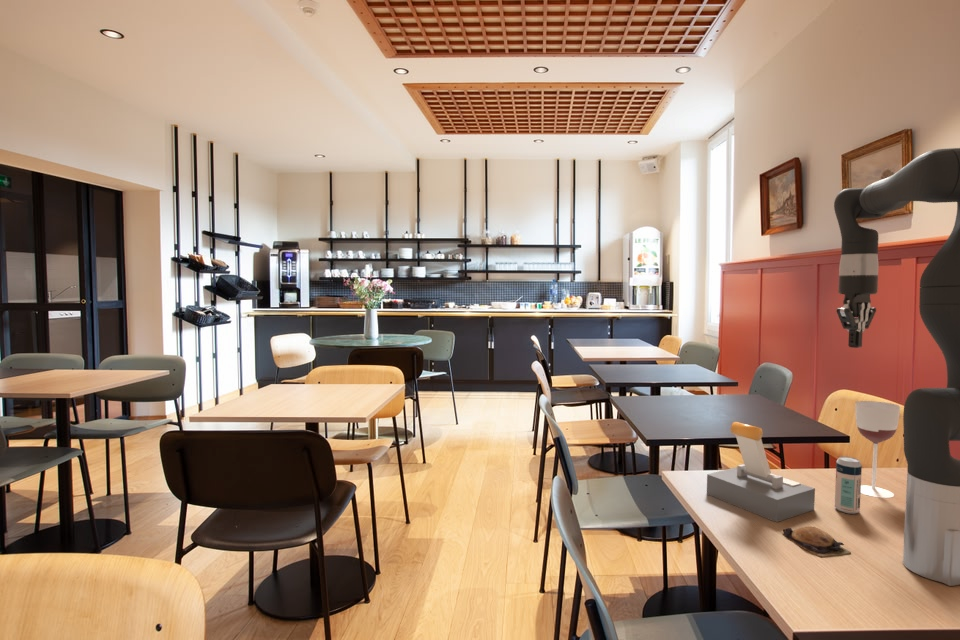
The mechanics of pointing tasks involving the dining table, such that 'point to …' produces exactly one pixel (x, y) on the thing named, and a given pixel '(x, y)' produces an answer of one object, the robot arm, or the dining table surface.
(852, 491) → the beer can
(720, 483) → the block
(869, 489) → the wineglass
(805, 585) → the dining table surface
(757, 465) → the breaker lever
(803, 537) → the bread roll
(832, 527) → the dining table surface
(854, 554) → the dining table surface
